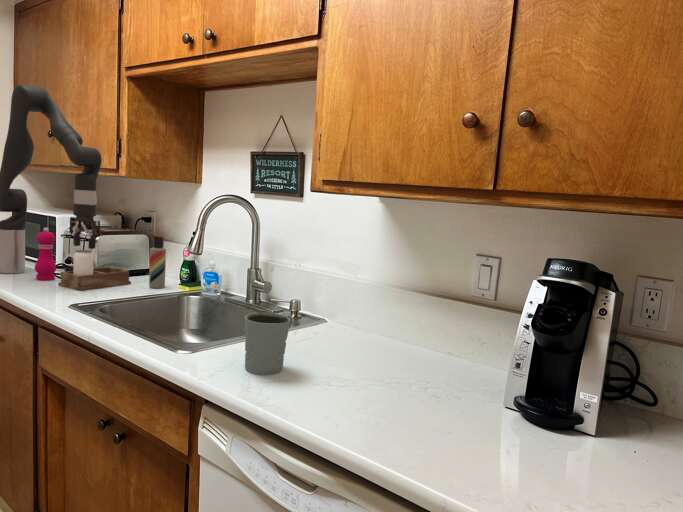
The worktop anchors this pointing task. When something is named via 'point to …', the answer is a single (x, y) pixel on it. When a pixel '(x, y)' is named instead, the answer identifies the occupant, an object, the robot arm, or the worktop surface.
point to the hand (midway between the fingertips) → (84, 247)
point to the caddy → (95, 279)
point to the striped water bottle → (157, 263)
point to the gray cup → (265, 342)
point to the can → (83, 262)
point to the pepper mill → (45, 256)
